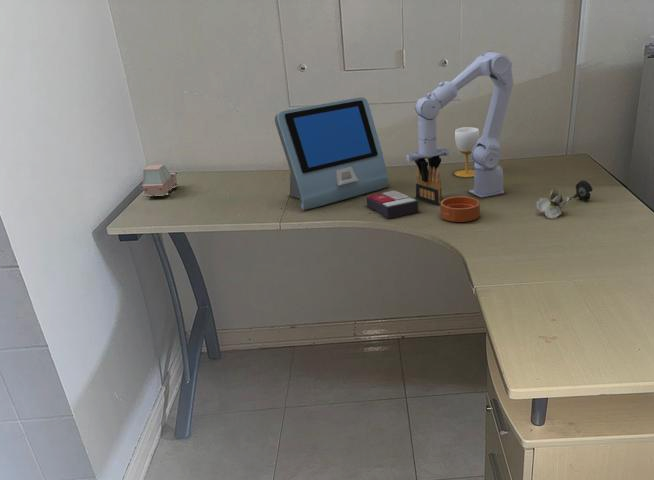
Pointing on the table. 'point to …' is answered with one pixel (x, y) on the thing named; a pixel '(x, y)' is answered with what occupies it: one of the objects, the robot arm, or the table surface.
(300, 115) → the touchscreen device
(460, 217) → the bowl
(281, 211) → the table surface
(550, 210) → the artificial flower
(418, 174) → the ammunition clip
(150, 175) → the toy car
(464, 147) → the cup
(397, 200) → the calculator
